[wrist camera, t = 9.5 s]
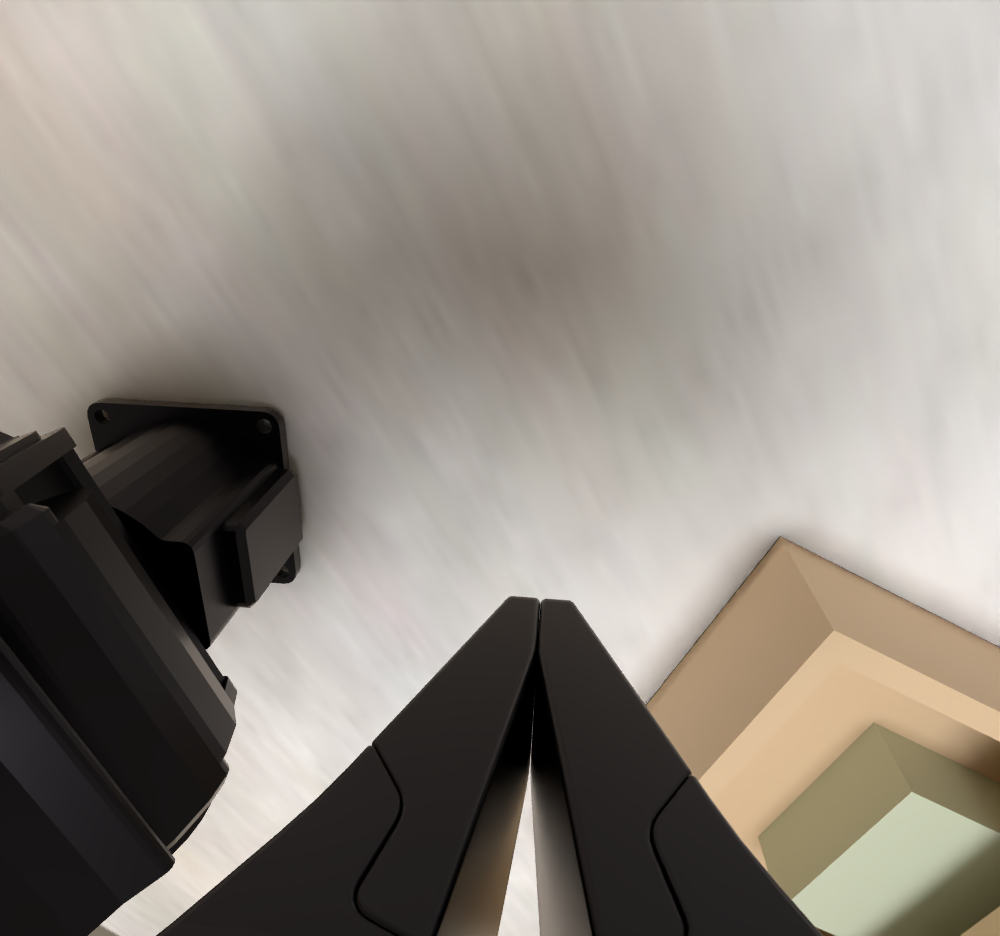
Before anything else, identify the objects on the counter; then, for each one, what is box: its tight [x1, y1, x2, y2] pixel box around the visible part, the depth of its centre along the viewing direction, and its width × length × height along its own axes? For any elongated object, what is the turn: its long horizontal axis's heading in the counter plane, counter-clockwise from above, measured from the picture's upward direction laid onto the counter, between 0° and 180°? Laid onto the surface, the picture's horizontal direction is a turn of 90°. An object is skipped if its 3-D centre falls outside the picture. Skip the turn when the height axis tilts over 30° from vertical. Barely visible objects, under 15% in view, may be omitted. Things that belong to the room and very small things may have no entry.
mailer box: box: [646, 537, 1000, 936], centre depth 24 cm, size 20×16×5 cm
